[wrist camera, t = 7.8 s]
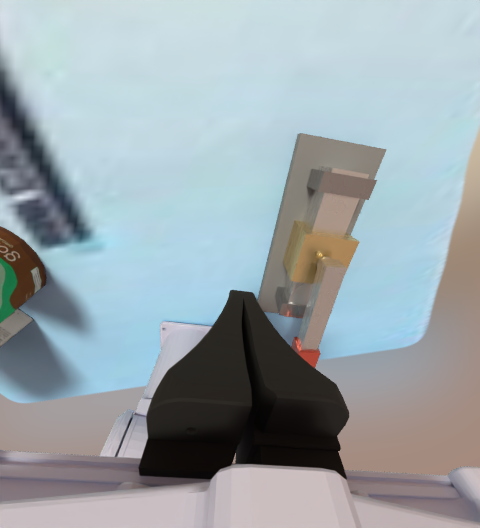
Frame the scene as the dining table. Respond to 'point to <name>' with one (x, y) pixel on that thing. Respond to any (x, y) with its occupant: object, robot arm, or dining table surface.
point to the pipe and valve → (321, 233)
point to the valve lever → (319, 308)
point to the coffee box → (13, 325)
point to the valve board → (298, 194)
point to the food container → (17, 273)
